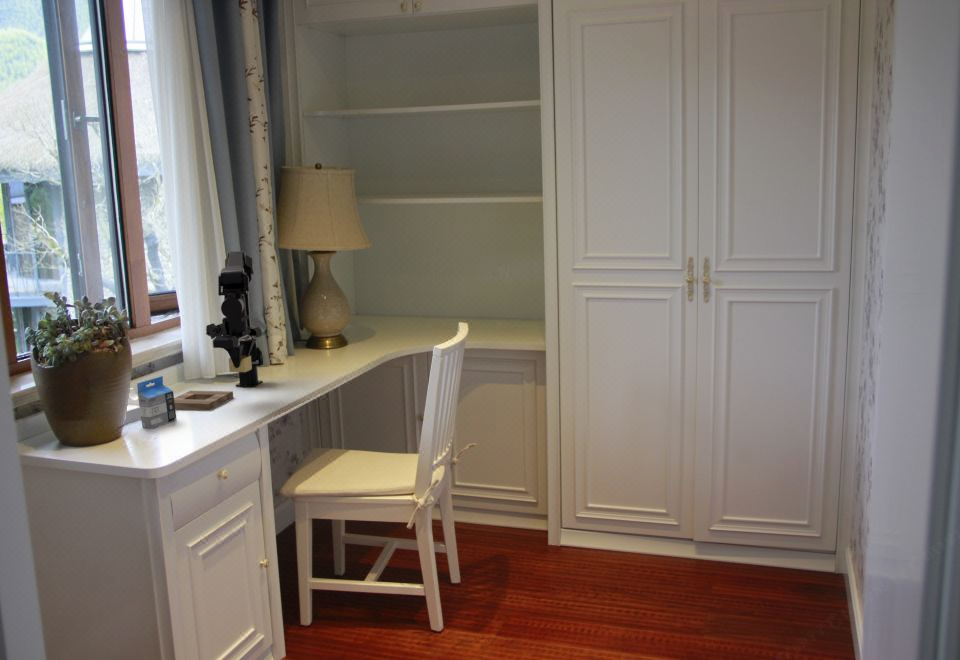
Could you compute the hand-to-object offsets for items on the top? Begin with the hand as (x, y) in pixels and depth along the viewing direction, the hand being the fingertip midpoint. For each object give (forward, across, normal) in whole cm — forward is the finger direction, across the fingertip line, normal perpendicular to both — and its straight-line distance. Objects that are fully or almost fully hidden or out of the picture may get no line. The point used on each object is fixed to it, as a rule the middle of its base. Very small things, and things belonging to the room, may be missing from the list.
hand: (240, 366), depth 251 cm
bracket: (+12, +20, -26) cm, 34 cm away
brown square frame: (+11, +2, -13) cm, 17 cm away
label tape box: (+11, +23, -13) cm, 29 cm away
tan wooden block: (+1, 0, 0) cm, 1 cm away
